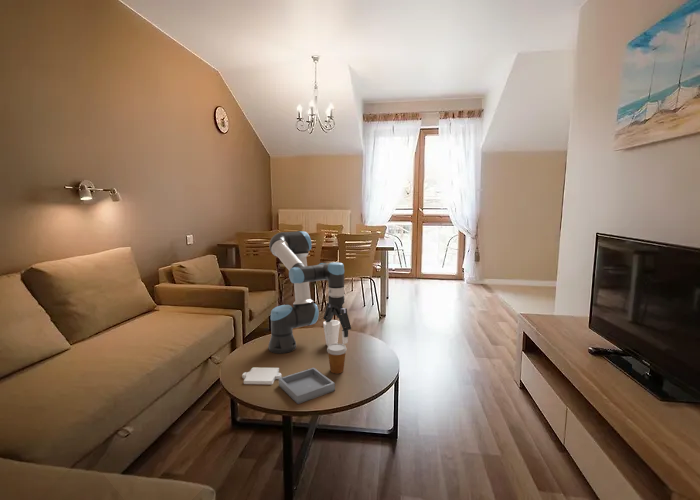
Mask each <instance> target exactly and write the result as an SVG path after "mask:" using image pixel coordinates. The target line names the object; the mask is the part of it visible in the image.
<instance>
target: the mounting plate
mask: <svg viewBox="0 0 700 500" xmlns="http://www.w3.org/2000/svg"><path fill="white" fill-rule="evenodd" d="M241 376H242V379H243V384H244V385H273V384H274V382H275V380H279V378H282V373H281V372H280V367H257V366H256V367H252V368H251V369H250V370H249V371H244V372H243V373H242V375H241Z"/></svg>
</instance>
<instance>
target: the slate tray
mask: <svg viewBox="0 0 700 500" xmlns="http://www.w3.org/2000/svg"><path fill="white" fill-rule="evenodd" d="M278 387H279V388H280V389H281V390H282V391H284V393H286V395H288V396H289V397H290V398H291V400H293V401H294V403H296V404H297V405H300V404H302V403H305V402H308V401H310V400H313V399H316V398H319V397H321V396H324V395H327V394H330V393H332V392H335V389H336V383H335V382H334V381H332V380H331V379H330V378H329V377H327V376H326V375H325V374H324V373H322V372H321V371H319V370H318V369H317V368H315V367H311V368H308V369H305V370H301V371H299V372H295V373H292V374H289V375H286V376H281V378H279V379H278Z"/></svg>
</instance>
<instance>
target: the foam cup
mask: <svg viewBox="0 0 700 500" xmlns="http://www.w3.org/2000/svg"><path fill="white" fill-rule="evenodd" d="M322 326H323V331H324V339H325V344H326V346H327V347H328V346H329V345H331V344H336V343H338V342H339V334H340V328H341V323H340V320H338V319H337V320H336V319H332V334H331V335H327V327H326V321H325V320H324V321H323V325H322ZM338 344H339V343H338Z"/></svg>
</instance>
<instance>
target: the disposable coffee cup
mask: <svg viewBox="0 0 700 500" xmlns="http://www.w3.org/2000/svg"><path fill="white" fill-rule="evenodd" d="M346 346H347V345H346V344H342V343H336V344H331V345H329V346H327V348H326V352H327V355H328V362H329V369H330V373H332V374H341V373H343V372H344V368H345V363H346V362H345V361H346V353H347V350H348V349H347V347H346Z"/></svg>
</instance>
